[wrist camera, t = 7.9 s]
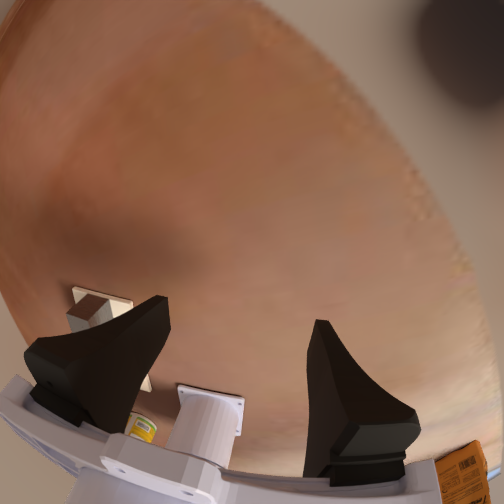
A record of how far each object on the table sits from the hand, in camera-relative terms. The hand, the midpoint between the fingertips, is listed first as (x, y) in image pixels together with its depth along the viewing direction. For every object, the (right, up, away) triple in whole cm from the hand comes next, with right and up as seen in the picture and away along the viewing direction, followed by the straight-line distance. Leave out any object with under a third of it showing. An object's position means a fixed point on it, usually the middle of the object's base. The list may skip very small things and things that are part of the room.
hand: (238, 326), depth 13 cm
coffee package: (+45, -41, +21) cm, 64 cm away
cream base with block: (-16, -7, +16) cm, 23 cm away
